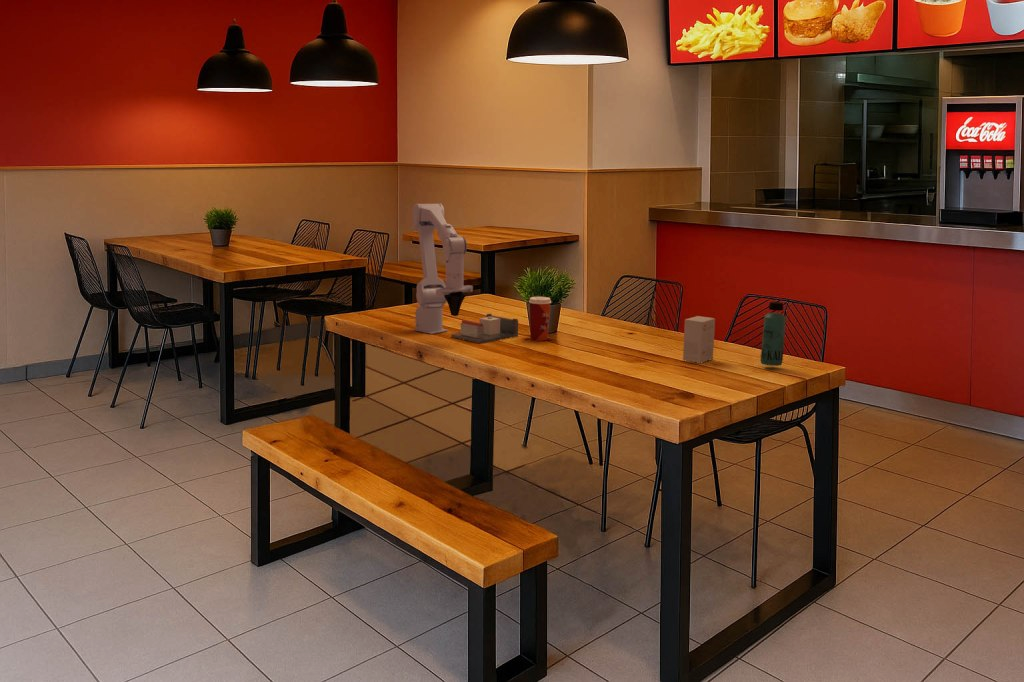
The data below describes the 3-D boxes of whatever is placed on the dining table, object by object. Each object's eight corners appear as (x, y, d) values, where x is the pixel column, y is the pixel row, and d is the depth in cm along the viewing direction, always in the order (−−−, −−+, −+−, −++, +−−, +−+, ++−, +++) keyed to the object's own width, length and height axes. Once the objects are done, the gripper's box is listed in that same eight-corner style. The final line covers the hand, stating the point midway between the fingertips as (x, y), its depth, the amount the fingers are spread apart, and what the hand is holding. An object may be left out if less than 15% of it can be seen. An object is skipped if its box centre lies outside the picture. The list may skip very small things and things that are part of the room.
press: (451, 337, 312) (451, 319, 311) (489, 330, 325) (489, 313, 324) (480, 343, 303) (480, 325, 302) (517, 336, 316) (518, 319, 314)
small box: (695, 356, 289) (697, 315, 287) (713, 359, 285) (715, 318, 283) (682, 360, 283) (684, 319, 281) (700, 364, 279) (703, 321, 277)
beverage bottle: (764, 364, 280) (768, 299, 276) (785, 367, 276) (790, 301, 272) (756, 368, 274) (761, 302, 270) (778, 372, 271) (783, 304, 267)
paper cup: (548, 342, 307) (549, 300, 304) (525, 340, 309) (526, 299, 306) (552, 337, 315) (553, 296, 312) (530, 336, 316) (530, 295, 313)
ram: (459, 334, 311) (459, 320, 310) (466, 333, 313) (466, 319, 312) (478, 338, 305) (478, 324, 304) (484, 337, 307) (484, 323, 306)
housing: (479, 332, 315) (479, 316, 314) (489, 330, 319) (489, 315, 318) (489, 335, 312) (489, 318, 311) (500, 333, 315) (500, 316, 314)
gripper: (446, 277, 291) (446, 319, 294) (479, 273, 302) (479, 314, 304) (431, 275, 296) (431, 316, 299) (464, 271, 306) (464, 311, 309)
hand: (454, 315), depth 302 cm, fingers closed
